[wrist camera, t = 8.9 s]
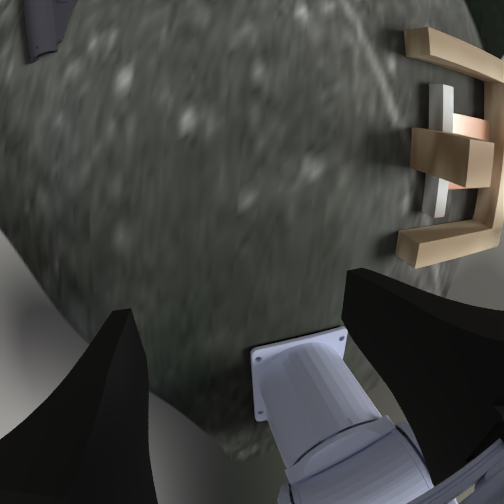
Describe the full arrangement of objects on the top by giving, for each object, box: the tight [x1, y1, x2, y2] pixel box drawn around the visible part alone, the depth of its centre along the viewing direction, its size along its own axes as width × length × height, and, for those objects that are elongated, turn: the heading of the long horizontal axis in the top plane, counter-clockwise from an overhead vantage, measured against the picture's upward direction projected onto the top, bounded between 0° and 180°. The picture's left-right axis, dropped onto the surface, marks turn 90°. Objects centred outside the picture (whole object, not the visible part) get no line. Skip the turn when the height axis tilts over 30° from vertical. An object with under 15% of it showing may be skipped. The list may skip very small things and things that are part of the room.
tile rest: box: [395, 27, 504, 269], centre depth 20 cm, size 17×12×2 cm
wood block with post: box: [410, 84, 495, 218], centre depth 18 cm, size 10×3×6 cm, turn 3°
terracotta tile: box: [448, 113, 490, 189], centre depth 21 cm, size 6×6×2 cm
